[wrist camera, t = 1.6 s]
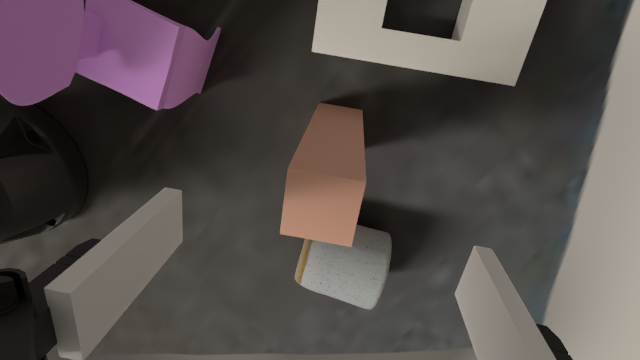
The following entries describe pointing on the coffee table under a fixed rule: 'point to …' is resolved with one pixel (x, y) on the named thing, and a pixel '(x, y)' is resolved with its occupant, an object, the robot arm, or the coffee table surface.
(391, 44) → the socket block
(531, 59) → the coffee table surface
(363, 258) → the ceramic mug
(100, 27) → the toy chair
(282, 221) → the peg
